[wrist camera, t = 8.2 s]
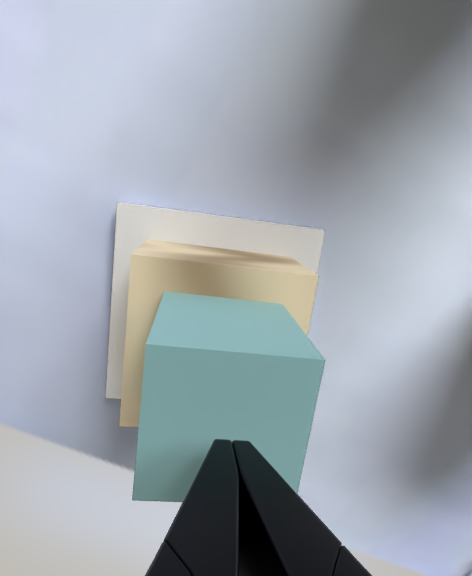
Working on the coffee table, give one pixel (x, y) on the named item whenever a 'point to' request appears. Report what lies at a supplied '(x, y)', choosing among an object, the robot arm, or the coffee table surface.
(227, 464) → the robot arm
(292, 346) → the teal block
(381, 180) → the coffee table surface
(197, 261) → the maple brick
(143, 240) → the baseplate
